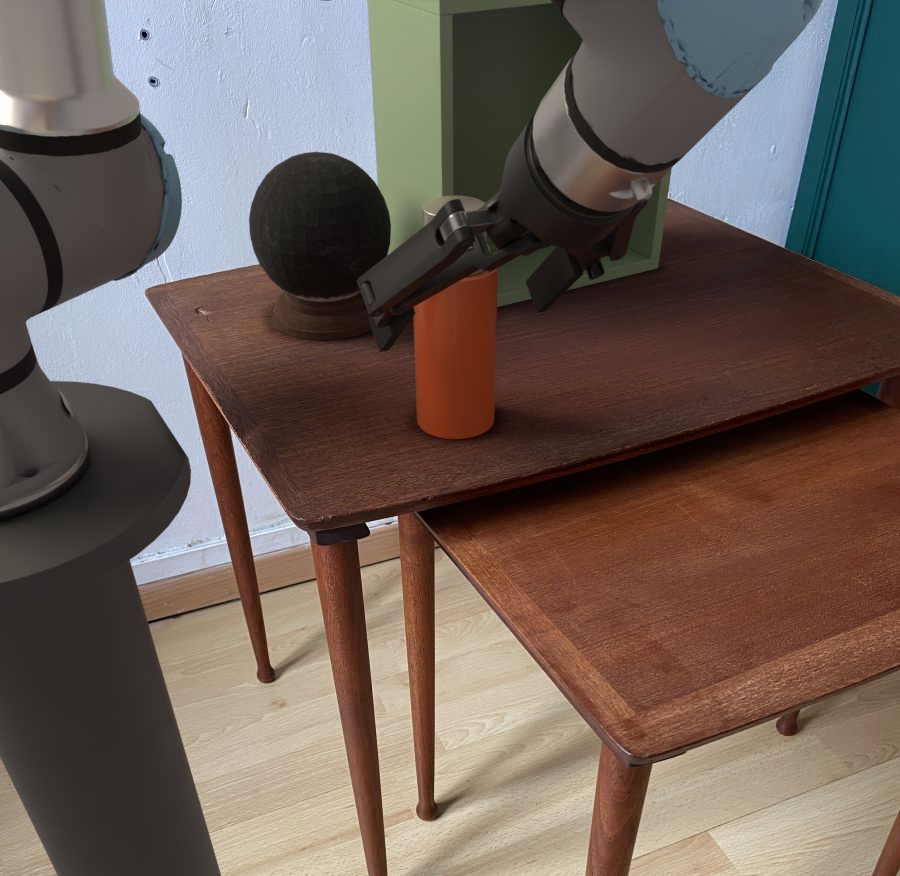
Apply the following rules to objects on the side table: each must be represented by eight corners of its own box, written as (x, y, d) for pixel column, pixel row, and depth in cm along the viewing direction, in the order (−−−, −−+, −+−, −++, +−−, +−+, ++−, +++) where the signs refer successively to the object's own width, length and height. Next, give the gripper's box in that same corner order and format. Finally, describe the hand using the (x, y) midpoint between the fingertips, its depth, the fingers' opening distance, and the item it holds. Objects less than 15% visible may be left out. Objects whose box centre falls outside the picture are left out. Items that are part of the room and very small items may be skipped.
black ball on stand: (418, 325, 92) (413, 162, 83) (291, 356, 88) (270, 187, 78) (361, 279, 101) (350, 126, 91) (243, 305, 96) (218, 147, 87)
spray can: (420, 442, 76) (413, 223, 65) (413, 403, 81) (405, 193, 70) (499, 436, 77) (506, 218, 65) (488, 398, 81) (492, 189, 70)
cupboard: (658, 268, 103) (698, -29, 85) (443, 320, 93) (439, -2, 76) (584, 229, 112) (606, -46, 95) (382, 272, 103) (365, -25, 85)
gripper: (411, 260, 48) (324, 400, 68) (784, 181, 57) (611, 325, 77) (360, 121, 48) (288, 302, 68) (740, 64, 57) (578, 238, 77)
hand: (459, 314), depth 72 cm, fingers open, 13 cm apart
